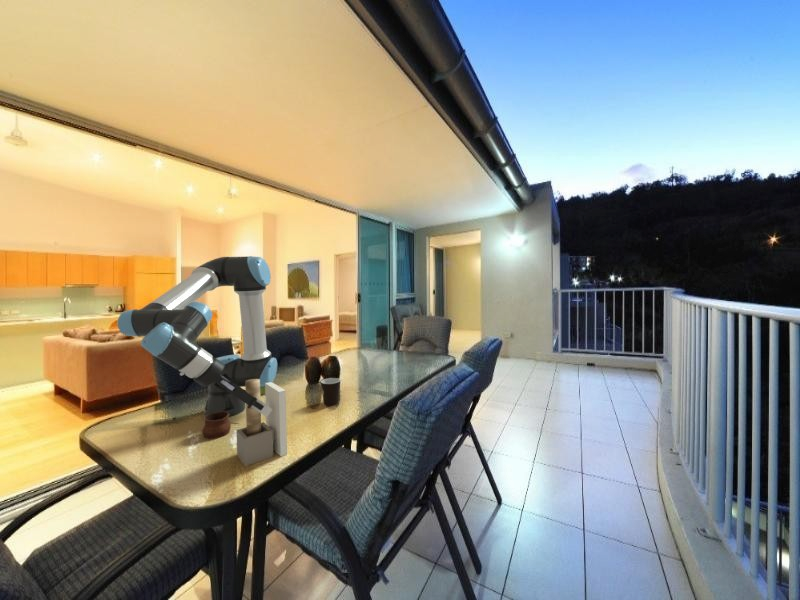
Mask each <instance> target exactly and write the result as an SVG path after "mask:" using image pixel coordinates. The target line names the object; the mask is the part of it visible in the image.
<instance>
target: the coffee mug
mask: <svg viewBox="0 0 800 600" xmlns="http://www.w3.org/2000/svg"><path fill="white" fill-rule="evenodd" d="M341 382H342V381H341V378H338V377H337V378H336V377H329V378H325V379H322V380H320V384H321V385H320V386H321V392H322V401H323V405H324V406H328V407H330V406H336V405H338V404H339V403H340V402H339V400H340V390H341Z"/></svg>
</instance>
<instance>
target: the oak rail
mask: <svg viewBox="0 0 800 600" xmlns="http://www.w3.org/2000/svg"><path fill="white" fill-rule="evenodd" d="M244 389H245V390H246V392H247V393H249V394H250V395H252V396H253V397H256V398H257V399H259V400H260V401H261V395H260V379H250V380H247V381H245V387H244ZM245 407H246V408H245V414H246V416H245V420H246V425H245V426H246V427H247V435H248V436H251V435H255V434H258V433H261V423H262V414H261V413H259V412H258V411H256V410H255V409H253V408H252V407H250V408H247V407H248V404H246V403H245Z"/></svg>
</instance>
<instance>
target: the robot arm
mask: <svg viewBox="0 0 800 600" xmlns="http://www.w3.org/2000/svg"><path fill="white" fill-rule="evenodd" d="M271 275H272V274H271V271H270V266H269V265H268V263H267V262H266V260H265V259H264V258H263V257H261V256H252V255H250V256H221V257H217V258H214V259H211V260H209V261H207V262H204V263H203V264H201V265H199V266H198V267H196V268H195V269H194V270H192V272H191V274H190V276H188V277H187V278H185V279H183V280H182V281H181V282H179V283H178V284H176V285H174V286H173V287H172V288H171V289H168V290H167V291H166V292H164V293H163V294H161V295H160V296H159V297H157V298H155V299H154V300H152V301H151V302H149V303H148V304H146V305H145V306H144V307H141V308H139V309H136V308H133V309H128V310H124V311H123V312H122V313H120V315H119V316H118V317H117V323H116V324H117V328H118V330H119V332H120V333H121V334H122V335H125V336H129V337H139V338H140V337H142V339H141V341H140V345H141V347H142V348H143V349H145V350H146V351H147V352H149V353H150V354H152V356H153V357H156V358H157V359H159V360H161V361H162V362H164V363H165V364H167V365H169V366H170V367H172V368H174V369H175V370H177V371H178V372H180V373H179V376H181V377H182V376H187V378H189V379H193V381H194V382H195V383H197V384H199V386H202V387H204V388H205V387H208V397H207V400H206V403H205V407H204V410H203V412H204V413H203V414H204V417H205V416H206V415H208V414H212V413H218V412H222V411H225V412H228V413H229V417H232V416H235V415H238V414H240V413H242V412H244V411H246V404H248V407H247V408H250V407H252V408H253V409H255V410H256V411H258V412H259V413H261V416H262V415H263V416H264V417H265V418H266V417H267V416H268V415H269V414H270V412H271V411H272V410H273V409H272V408H270V407H269V406H267V405H266V402H263V401H262V400H261V399H260V400H259V399H257V398H256V397H253V396H252V395H250V394H249V393H247V392H246V389H245V381H247V380H250V379H260V387H261V386H265V383H269V382H273V383H274V380H275V378H276V375H277V371H278V360H277V358H276V357H274V356H273V357H272V352H271V351H270V350H268V348H267V337H266V334H267V333H266V326H265V325H266V324H265V311H264V309H265V308H264V297H263V295H264V294H263V293H264V292H266V290H267V286H268V285H270V283H271V280H272V279H271ZM219 287H233V291H234V293H236V294H237V295H238V301H239V310H240V311H239V313H240V320H241V321H240V322H241V333H242V341H243V342H242V343H243V353H242V354H241V356H240V354H238V353H237V354H229V355H223V356H219V357H214V356H213V355H212V354H211V353H210V352H208V351H207V350H205V349H204V348H203V347H201V346H200V345H198V344H197V343H196V340H197V339H198V338H199V336H200V335H201V334H202V333H203V332H204V330H205V329H206V328H207V327H208V325H209V323H210V321H211V320H212V318H213V311H212V310H211V307H209V306H208V305H206V304H205V303H203V302H198V301H197V300H199V299H200V298H201V297H202V296H204V294H206V293H207V292H210V291H211V292H212V291H213V290H215V289H217V288H219ZM242 387H244V388H242Z"/></svg>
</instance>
